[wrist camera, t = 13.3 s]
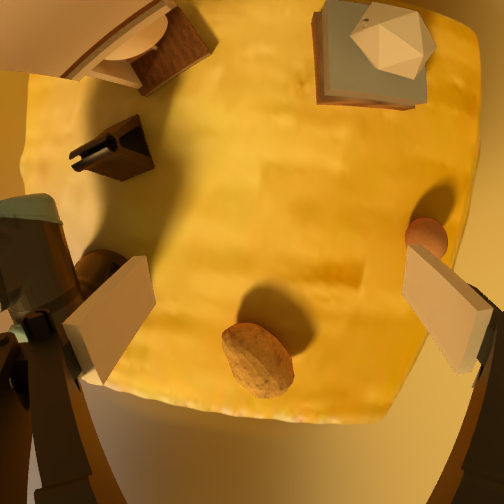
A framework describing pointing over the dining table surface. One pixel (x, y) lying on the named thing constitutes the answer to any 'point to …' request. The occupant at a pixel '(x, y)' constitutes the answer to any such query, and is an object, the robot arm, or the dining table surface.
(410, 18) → the die
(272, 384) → the potato
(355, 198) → the dining table surface
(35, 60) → the display case
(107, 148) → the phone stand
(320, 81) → the block
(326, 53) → the block
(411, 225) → the egg
